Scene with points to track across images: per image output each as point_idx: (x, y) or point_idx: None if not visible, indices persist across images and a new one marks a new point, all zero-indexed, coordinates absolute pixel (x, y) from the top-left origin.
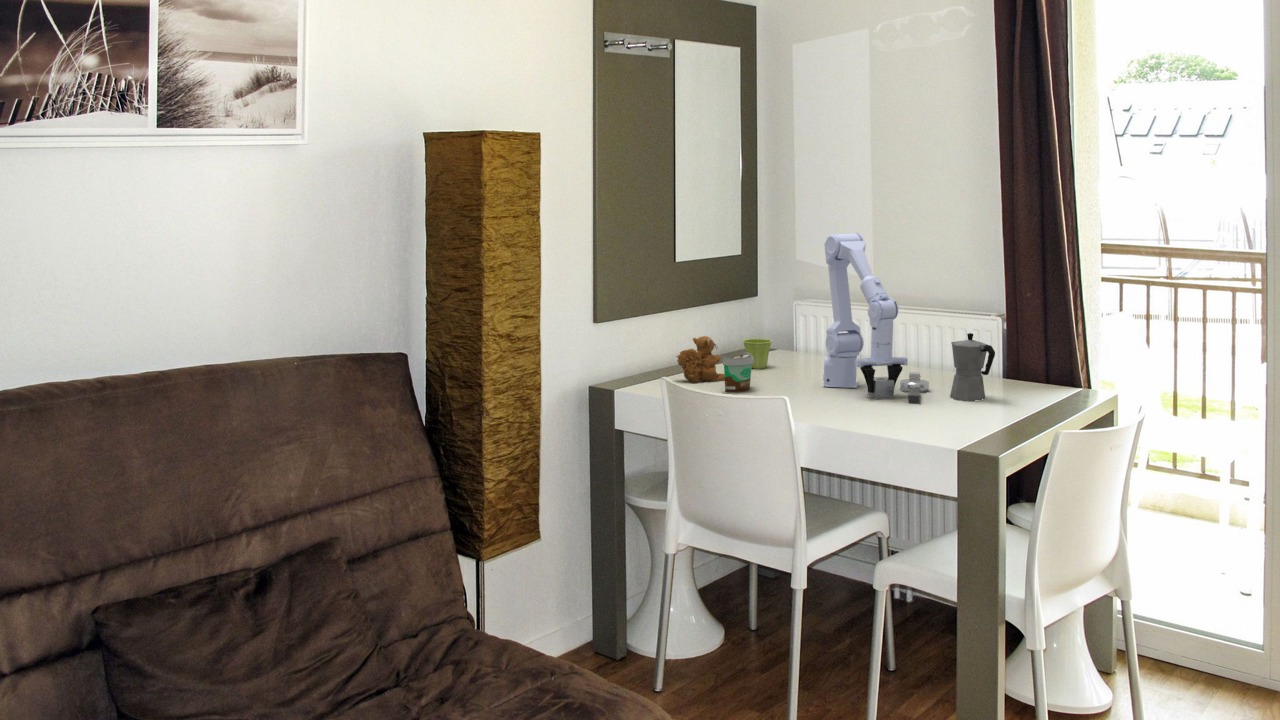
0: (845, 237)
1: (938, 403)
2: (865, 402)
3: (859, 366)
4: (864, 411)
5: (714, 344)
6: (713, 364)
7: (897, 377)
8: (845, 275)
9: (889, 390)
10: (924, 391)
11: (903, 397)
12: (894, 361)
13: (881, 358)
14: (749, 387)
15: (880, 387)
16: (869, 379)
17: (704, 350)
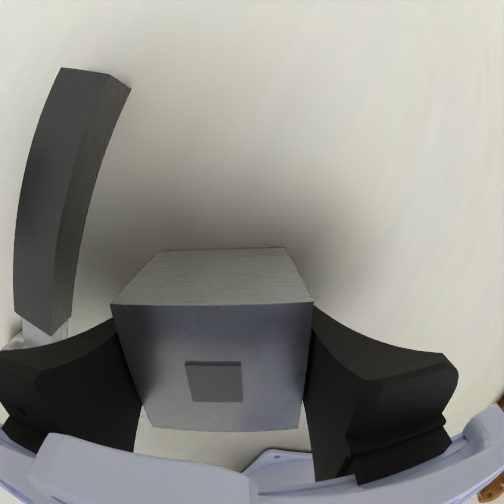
0: None
1: (18, 97)
2: (378, 168)
3: (490, 412)
4: (424, 10)
5: (481, 497)
6: None
7: (73, 338)
8: None
9: (175, 268)
10: (20, 331)
11: (102, 259)
12: (14, 462)
13: None
14: (502, 402)
15: (253, 276)
16: (361, 335)
17: (502, 474)
